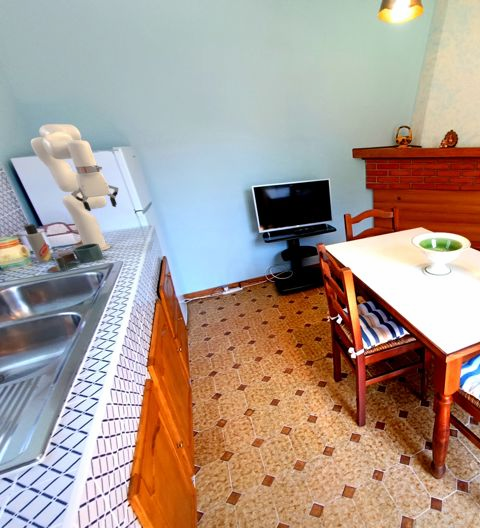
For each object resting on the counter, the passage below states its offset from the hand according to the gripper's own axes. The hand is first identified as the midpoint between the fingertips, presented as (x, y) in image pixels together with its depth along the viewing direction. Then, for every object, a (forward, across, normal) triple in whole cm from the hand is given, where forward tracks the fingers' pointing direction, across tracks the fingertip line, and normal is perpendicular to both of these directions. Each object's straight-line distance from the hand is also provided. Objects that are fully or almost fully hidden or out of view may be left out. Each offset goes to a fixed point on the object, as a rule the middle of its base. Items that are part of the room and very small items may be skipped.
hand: (102, 208), depth 139 cm
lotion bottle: (+27, +23, -34) cm, 50 cm away
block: (+27, +16, -24) cm, 39 cm away
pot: (+27, +9, -16) cm, 32 cm away
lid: (+26, +20, -14) cm, 36 cm away
